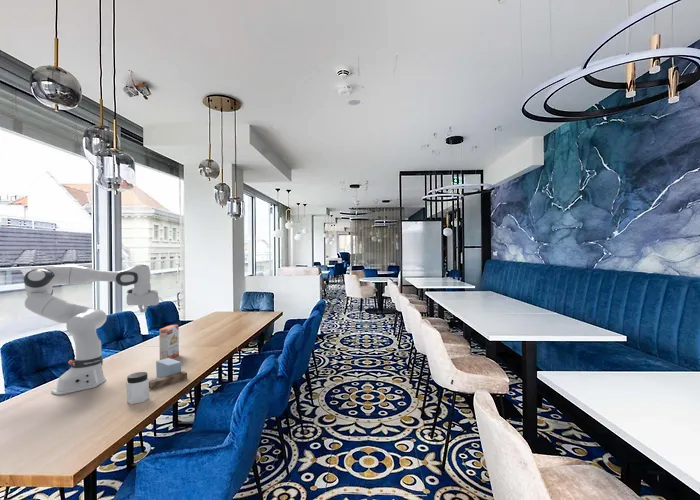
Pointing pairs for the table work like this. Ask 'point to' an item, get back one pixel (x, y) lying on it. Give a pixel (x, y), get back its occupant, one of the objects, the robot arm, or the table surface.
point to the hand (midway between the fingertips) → (143, 312)
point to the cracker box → (169, 342)
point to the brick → (167, 367)
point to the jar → (137, 387)
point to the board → (167, 380)
